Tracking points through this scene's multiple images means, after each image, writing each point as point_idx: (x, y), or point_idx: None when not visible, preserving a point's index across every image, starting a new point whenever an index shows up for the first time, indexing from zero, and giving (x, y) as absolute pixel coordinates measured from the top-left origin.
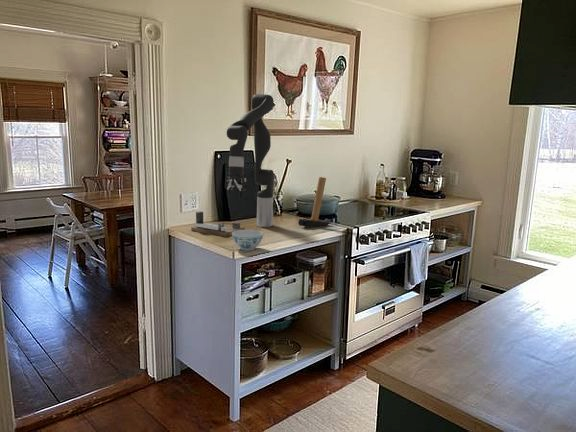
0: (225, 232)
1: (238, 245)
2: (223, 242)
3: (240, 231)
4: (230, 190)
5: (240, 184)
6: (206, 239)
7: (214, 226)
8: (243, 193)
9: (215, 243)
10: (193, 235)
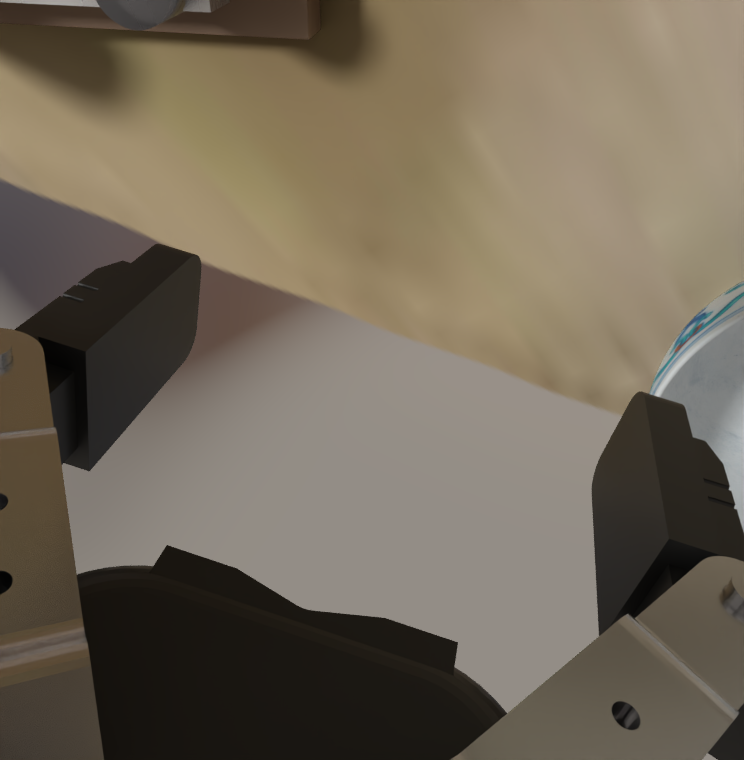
0: (281, 6)
1: (730, 437)
2: (452, 251)
3: (691, 348)
4: (95, 410)
5: (522, 730)
6: (246, 237)
7: (75, 5)
8: (735, 539)
9: (410, 313)
10: (38, 172)
